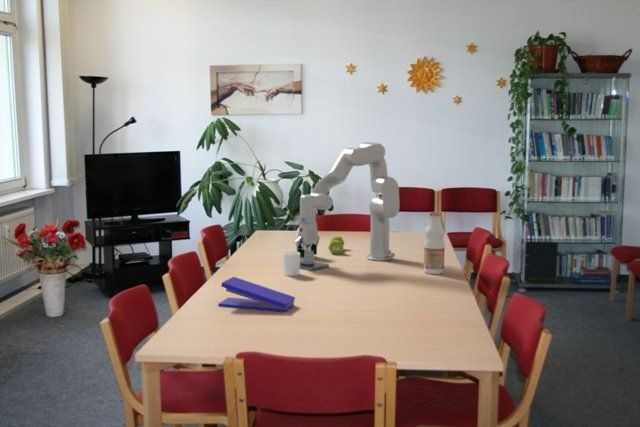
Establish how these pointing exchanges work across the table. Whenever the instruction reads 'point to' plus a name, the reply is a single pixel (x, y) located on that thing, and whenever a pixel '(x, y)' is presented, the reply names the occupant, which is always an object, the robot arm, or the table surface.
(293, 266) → the white cup
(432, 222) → the fruit juice
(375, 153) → the robot arm
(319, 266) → the shaft stand
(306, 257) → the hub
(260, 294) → the stapler
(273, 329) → the table surface
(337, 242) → the dumbbell
